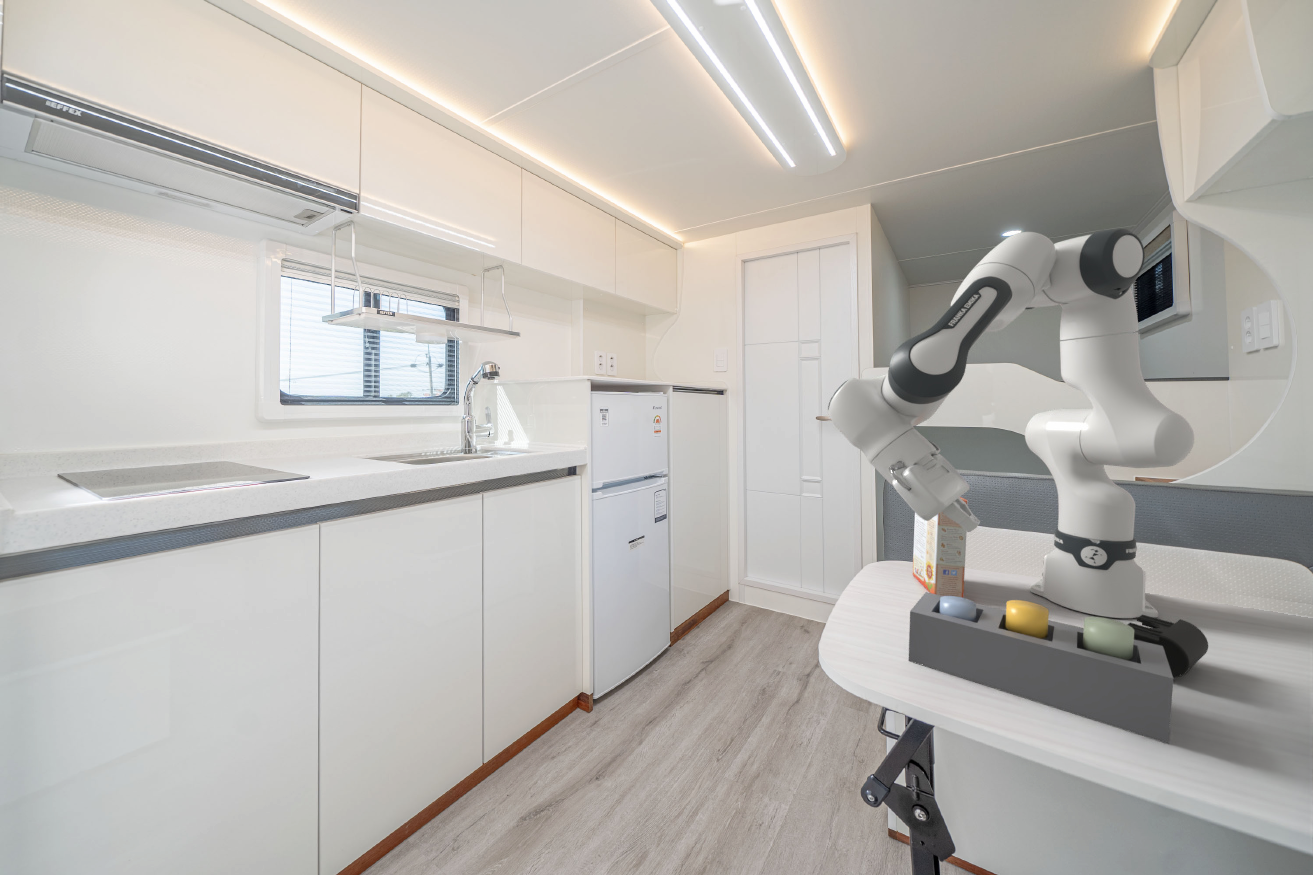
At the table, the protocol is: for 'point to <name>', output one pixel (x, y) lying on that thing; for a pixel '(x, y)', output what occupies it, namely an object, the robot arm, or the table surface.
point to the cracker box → (940, 555)
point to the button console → (1047, 667)
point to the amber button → (1027, 618)
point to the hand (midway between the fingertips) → (975, 527)
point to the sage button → (1108, 637)
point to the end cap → (1173, 641)
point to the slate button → (958, 608)
